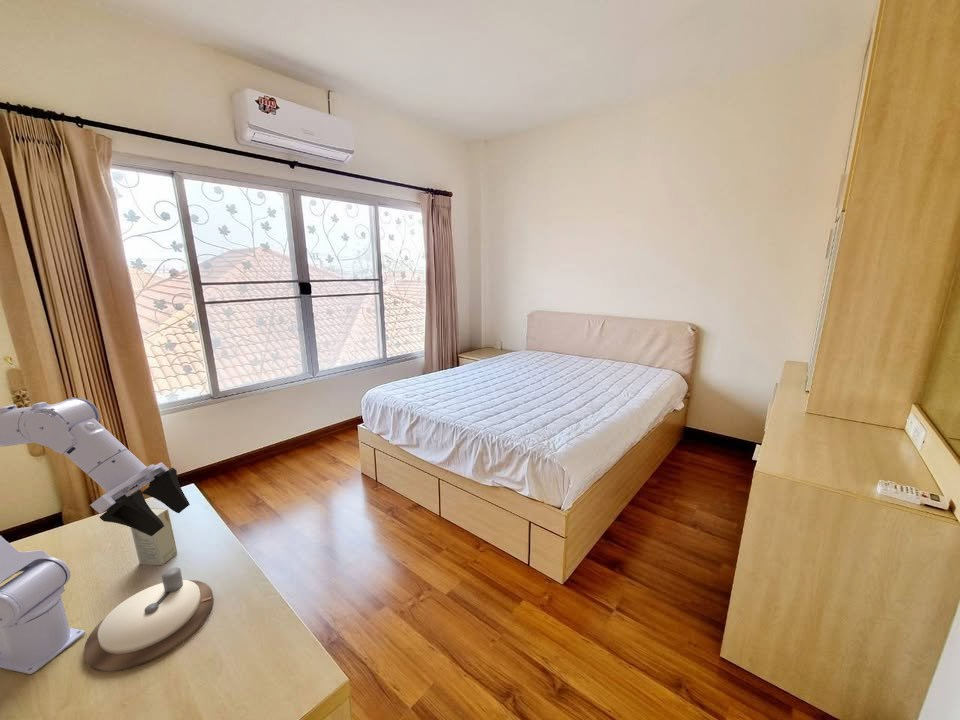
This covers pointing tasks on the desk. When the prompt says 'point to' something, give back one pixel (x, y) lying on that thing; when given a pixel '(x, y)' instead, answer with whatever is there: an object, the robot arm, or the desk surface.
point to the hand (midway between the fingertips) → (171, 519)
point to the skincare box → (156, 542)
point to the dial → (150, 615)
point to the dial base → (127, 661)
